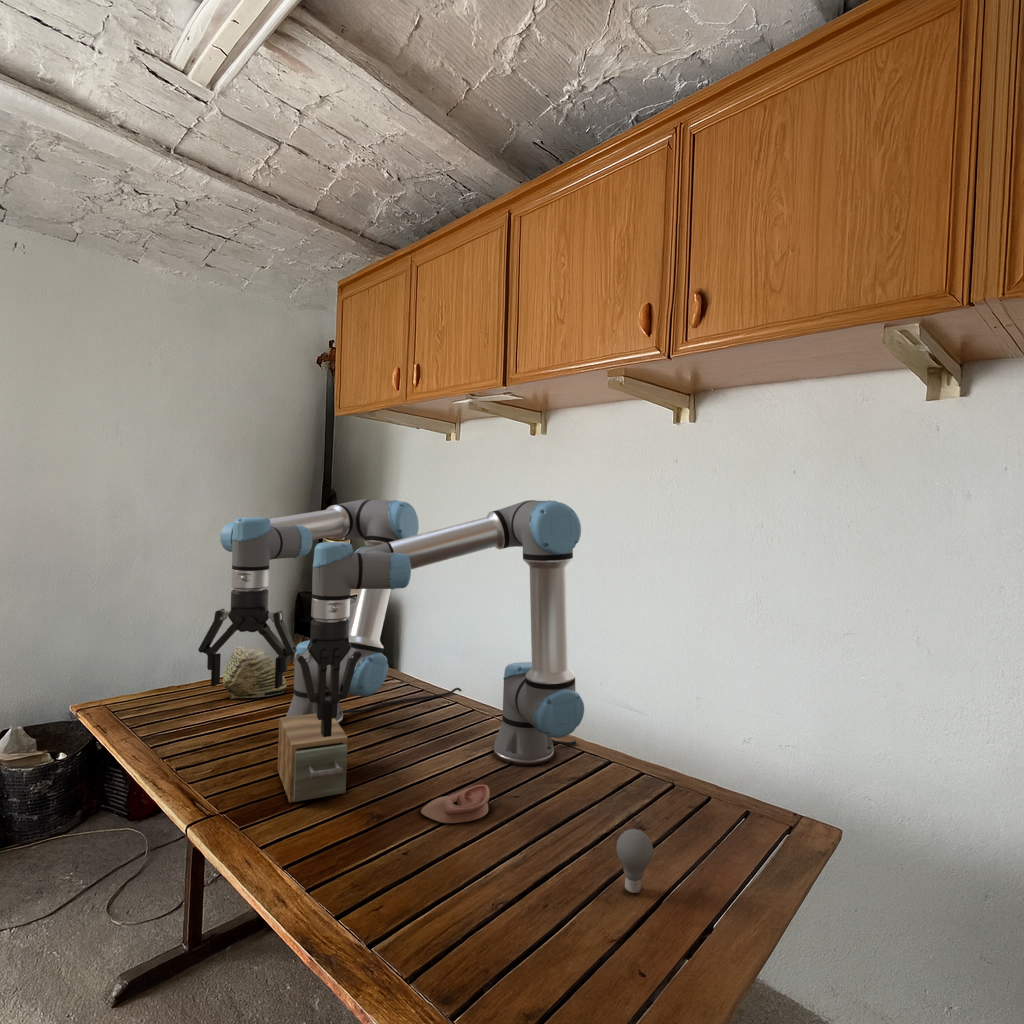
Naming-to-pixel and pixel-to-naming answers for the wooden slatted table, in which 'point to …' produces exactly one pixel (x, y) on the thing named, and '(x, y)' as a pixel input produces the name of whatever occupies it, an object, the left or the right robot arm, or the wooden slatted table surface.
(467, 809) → the anatomical model
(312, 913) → the wooden slatted table surface
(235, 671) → the fossil
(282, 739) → the cabinet
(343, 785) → the drawer
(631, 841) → the light bulb
